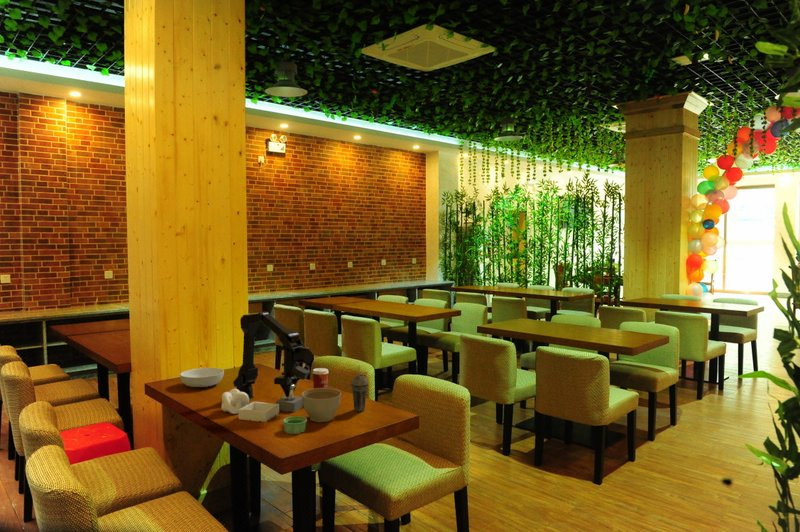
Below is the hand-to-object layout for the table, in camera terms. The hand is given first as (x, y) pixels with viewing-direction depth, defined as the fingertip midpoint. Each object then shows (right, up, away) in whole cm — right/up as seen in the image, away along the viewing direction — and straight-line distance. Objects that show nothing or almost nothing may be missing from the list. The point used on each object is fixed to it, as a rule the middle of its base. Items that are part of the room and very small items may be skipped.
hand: (289, 395), depth 238 cm
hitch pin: (0, -6, 0) cm, 6 cm away
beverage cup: (+31, -6, -1) cm, 31 cm away
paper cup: (+11, -5, +15) cm, 19 cm away
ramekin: (+8, -7, -28) cm, 30 cm away
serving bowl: (-52, -4, +35) cm, 63 cm away
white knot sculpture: (-24, -6, -5) cm, 25 cm away
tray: (-11, -6, -11) cm, 17 cm away
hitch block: (0, -6, 0) cm, 6 cm away
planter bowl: (+16, -7, -13) cm, 22 cm away
